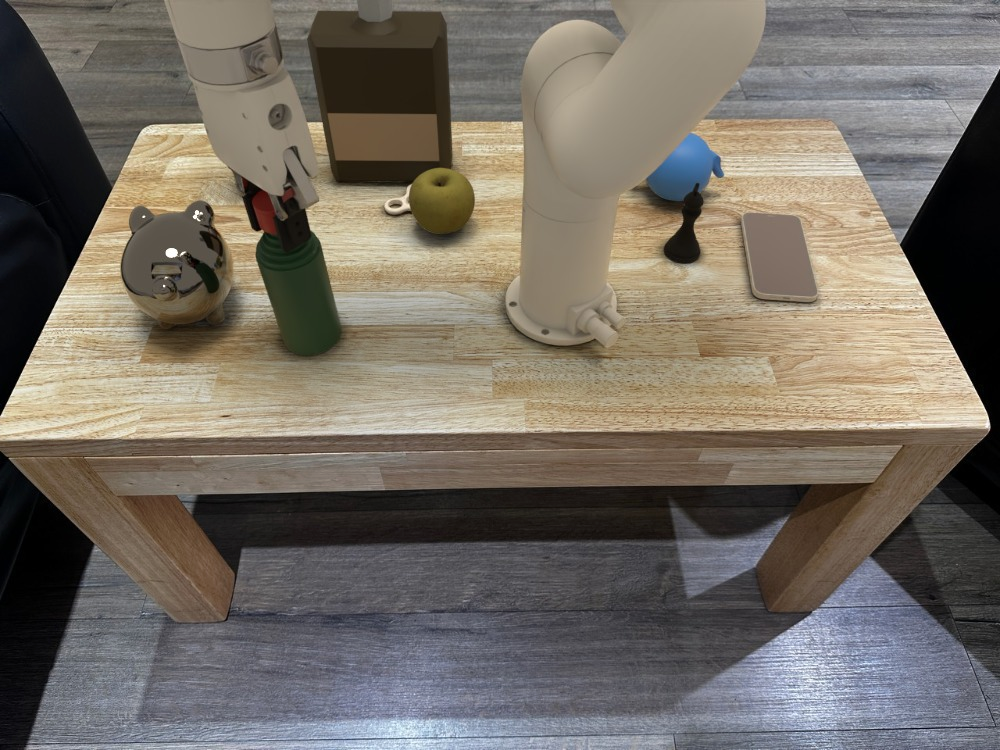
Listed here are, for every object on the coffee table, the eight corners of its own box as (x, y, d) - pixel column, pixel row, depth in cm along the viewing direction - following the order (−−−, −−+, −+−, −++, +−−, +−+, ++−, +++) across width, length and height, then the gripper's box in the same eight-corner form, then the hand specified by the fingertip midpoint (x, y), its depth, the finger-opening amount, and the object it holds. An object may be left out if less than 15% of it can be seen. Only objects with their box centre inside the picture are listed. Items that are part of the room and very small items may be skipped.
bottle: (338, 151, 109) (306, -37, 90) (453, 152, 109) (445, -36, 90) (330, 186, 104) (294, -7, 85) (450, 187, 104) (441, -6, 85)
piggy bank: (248, 258, 94) (223, 178, 86) (241, 348, 85) (213, 268, 76) (152, 267, 93) (117, 187, 85) (134, 360, 84) (92, 280, 75)
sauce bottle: (352, 336, 86) (322, 206, 73) (301, 364, 83) (260, 235, 70) (322, 305, 89) (288, 175, 76) (272, 331, 87) (228, 201, 73)
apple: (404, 211, 100) (401, 165, 94) (464, 200, 102) (465, 155, 96) (419, 251, 95) (416, 205, 90) (481, 239, 97) (483, 193, 92)
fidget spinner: (441, 215, 100) (441, 210, 99) (393, 227, 98) (392, 222, 98) (424, 184, 104) (423, 179, 103) (377, 195, 102) (376, 190, 102)
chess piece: (658, 257, 95) (673, 188, 87) (669, 236, 98) (684, 167, 90) (694, 267, 94) (711, 198, 86) (704, 246, 96) (722, 177, 89)
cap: (284, 202, 76) (277, 180, 74) (309, 219, 75) (303, 196, 73) (250, 222, 74) (243, 200, 72) (276, 239, 73) (269, 217, 71)
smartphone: (754, 293, 90) (740, 211, 99) (752, 299, 90) (738, 217, 100) (820, 298, 89) (800, 215, 99) (817, 303, 90) (798, 220, 100)
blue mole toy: (714, 163, 108) (728, 107, 102) (721, 216, 100) (736, 159, 94) (627, 157, 109) (635, 101, 102) (626, 210, 101) (635, 153, 95)
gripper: (337, 67, 60) (369, 253, 74) (211, 2, 67) (261, 182, 81) (256, 107, 56) (306, 294, 70) (132, 33, 63) (199, 216, 77)
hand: (281, 232), depth 75 cm, fingers closed on cap, 3 cm apart
